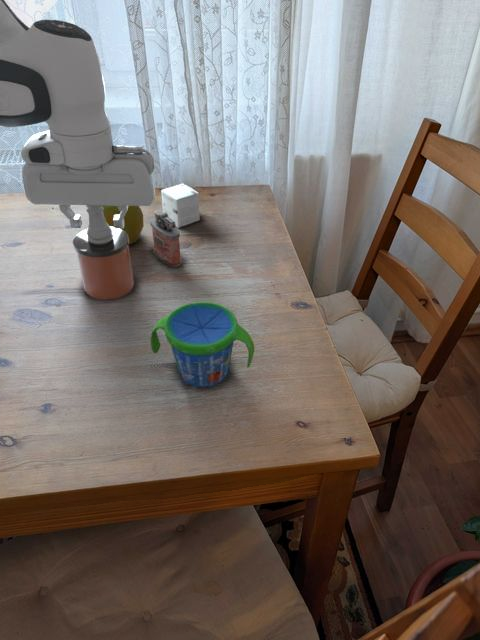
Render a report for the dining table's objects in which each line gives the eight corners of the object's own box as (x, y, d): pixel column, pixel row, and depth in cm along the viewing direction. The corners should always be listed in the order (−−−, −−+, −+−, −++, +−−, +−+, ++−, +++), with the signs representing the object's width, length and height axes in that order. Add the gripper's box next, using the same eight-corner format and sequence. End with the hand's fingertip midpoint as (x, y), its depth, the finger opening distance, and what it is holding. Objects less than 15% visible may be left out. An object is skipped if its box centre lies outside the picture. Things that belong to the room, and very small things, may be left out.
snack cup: (142, 384, 80) (134, 333, 73) (171, 341, 87) (166, 291, 80) (239, 409, 77) (240, 358, 70) (260, 362, 84) (263, 313, 78)
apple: (89, 239, 111) (80, 190, 103) (130, 225, 116) (123, 178, 108) (113, 259, 105) (105, 209, 98) (155, 244, 110) (149, 195, 103)
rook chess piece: (119, 236, 92) (112, 193, 86) (103, 248, 89) (95, 204, 83) (98, 230, 93) (90, 187, 88) (81, 241, 90) (72, 198, 85)
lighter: (150, 253, 107) (144, 208, 101) (164, 248, 109) (160, 204, 102) (171, 271, 103) (167, 225, 96) (185, 266, 105) (183, 220, 98)
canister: (79, 303, 94) (67, 253, 87) (88, 274, 101) (78, 225, 94) (132, 303, 95) (124, 253, 88) (138, 274, 102) (131, 226, 95)
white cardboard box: (163, 220, 118) (160, 189, 113) (184, 212, 121) (183, 182, 116) (178, 231, 115) (176, 199, 110) (200, 223, 118) (199, 192, 113)
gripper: (154, 139, 83) (161, 218, 92) (21, 136, 82) (42, 217, 91) (150, 154, 78) (158, 236, 88) (9, 151, 77) (32, 235, 86)
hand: (98, 226), depth 89 cm, fingers open, 6 cm apart
